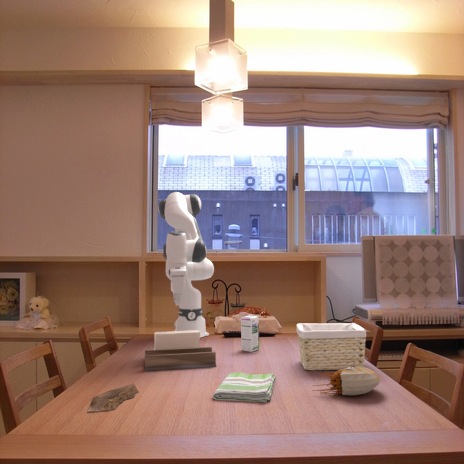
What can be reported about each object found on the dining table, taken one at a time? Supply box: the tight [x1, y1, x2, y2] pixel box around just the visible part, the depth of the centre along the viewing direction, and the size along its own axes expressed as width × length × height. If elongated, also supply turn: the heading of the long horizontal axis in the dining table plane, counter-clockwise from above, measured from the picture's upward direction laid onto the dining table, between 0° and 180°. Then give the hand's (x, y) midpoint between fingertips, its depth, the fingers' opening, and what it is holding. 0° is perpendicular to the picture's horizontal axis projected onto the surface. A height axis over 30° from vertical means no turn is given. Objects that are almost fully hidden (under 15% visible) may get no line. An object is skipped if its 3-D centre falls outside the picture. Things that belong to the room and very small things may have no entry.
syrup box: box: [240, 315, 260, 353], centre depth 187 cm, size 6×6×14 cm
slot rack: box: [144, 346, 217, 372], centre depth 164 cm, size 12×26×5 cm, turn 102°
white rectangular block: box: [153, 330, 201, 350], centre depth 177 cm, size 5×18×10 cm, turn 103°
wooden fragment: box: [87, 383, 140, 414], centre depth 128 cm, size 26×11×1 cm, turn 164°
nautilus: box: [311, 366, 382, 397], centre depth 131 cm, size 8×22×15 cm
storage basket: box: [296, 322, 367, 372], centre depth 162 cm, size 24×16×15 cm
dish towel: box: [212, 372, 276, 403], centre depth 135 cm, size 17×23×4 cm
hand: (176, 304), depth 177 cm, fingers open, 8 cm apart
